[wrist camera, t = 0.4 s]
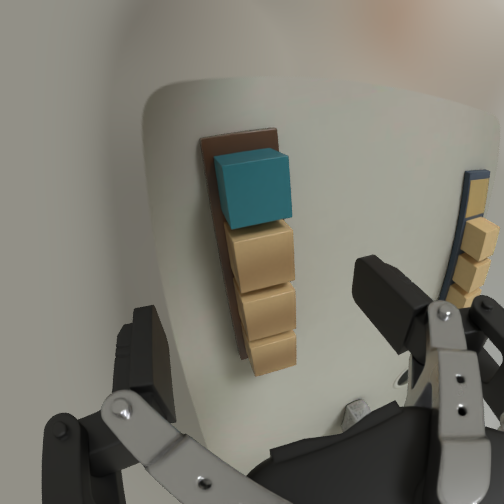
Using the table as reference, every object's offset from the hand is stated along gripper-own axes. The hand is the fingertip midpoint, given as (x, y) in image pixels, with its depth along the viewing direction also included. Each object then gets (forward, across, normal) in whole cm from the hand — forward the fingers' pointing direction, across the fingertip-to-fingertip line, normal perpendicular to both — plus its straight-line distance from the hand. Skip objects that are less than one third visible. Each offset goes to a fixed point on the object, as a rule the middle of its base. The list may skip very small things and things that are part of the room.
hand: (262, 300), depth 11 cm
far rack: (+15, -36, +13) cm, 41 cm away
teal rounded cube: (+14, -3, -1) cm, 14 cm away
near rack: (+15, -3, +8) cm, 17 cm away
